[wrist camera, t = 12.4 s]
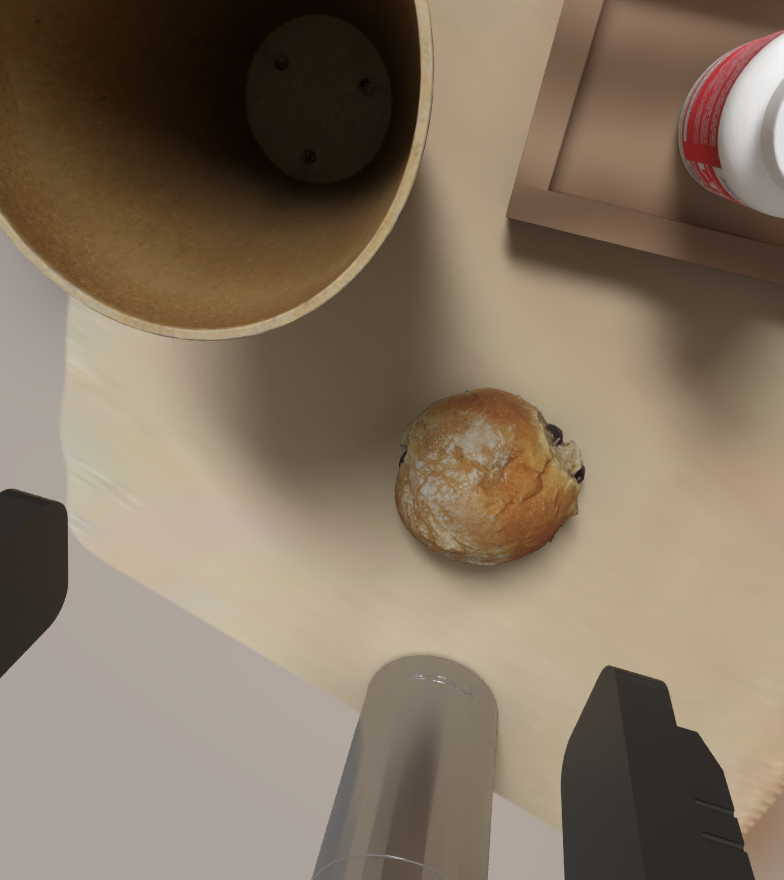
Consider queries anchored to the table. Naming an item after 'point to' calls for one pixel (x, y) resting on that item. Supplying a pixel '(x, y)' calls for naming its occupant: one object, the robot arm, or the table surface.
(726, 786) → the robot arm
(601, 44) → the shallow rectangular tray
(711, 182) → the pill bottle
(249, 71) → the plant pot
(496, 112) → the table surface
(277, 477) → the table surface
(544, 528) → the bread roll
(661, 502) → the table surface
